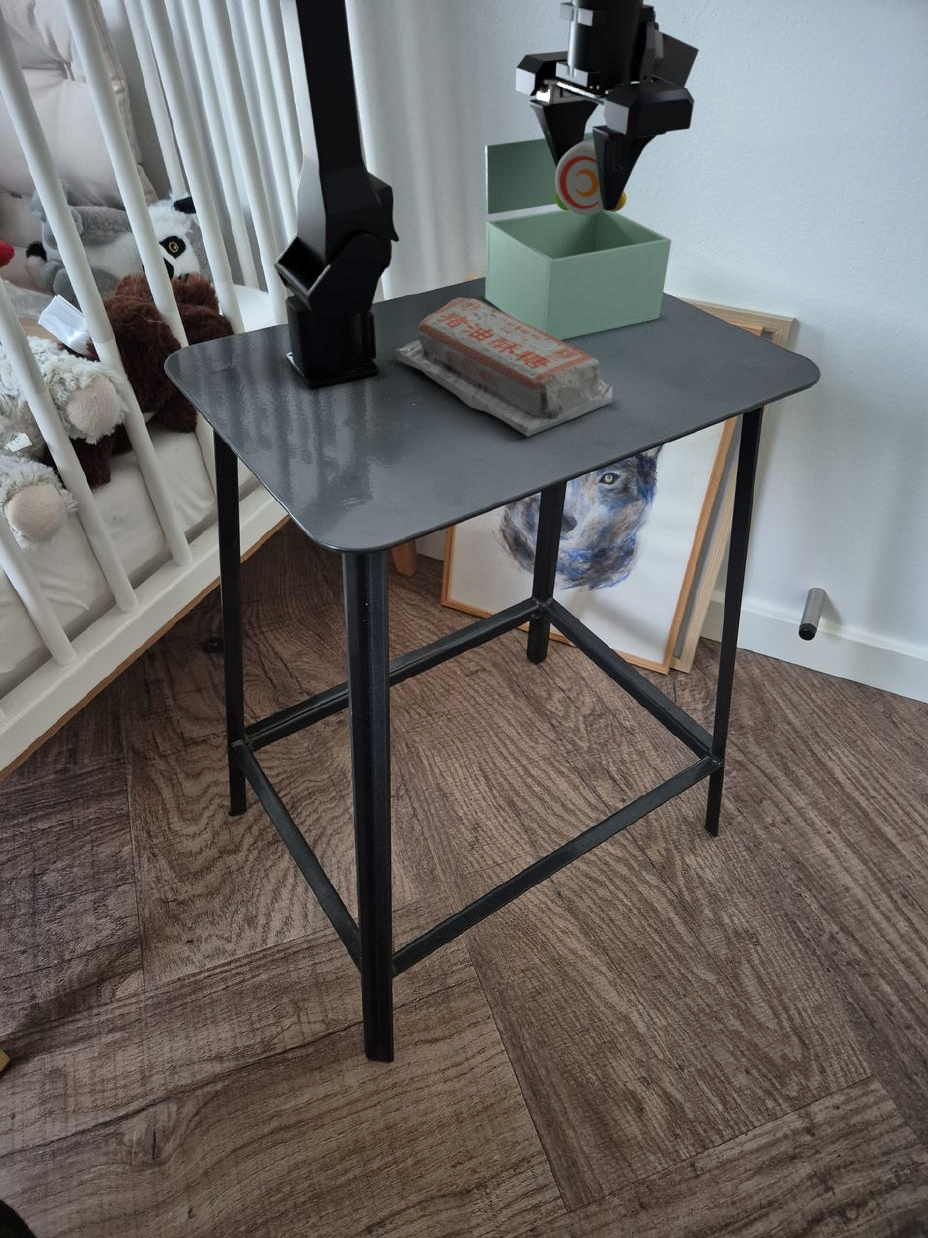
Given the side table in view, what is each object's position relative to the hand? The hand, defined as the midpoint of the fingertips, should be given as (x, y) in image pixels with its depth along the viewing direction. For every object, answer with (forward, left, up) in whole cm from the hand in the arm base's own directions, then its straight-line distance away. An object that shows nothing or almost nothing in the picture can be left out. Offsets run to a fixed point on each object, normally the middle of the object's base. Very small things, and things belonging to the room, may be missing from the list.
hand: (588, 199), depth 80 cm
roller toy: (0, 0, -1) cm, 1 cm away
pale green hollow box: (0, +2, -11) cm, 11 cm away
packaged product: (-14, -9, -11) cm, 20 cm away
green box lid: (0, +8, 0) cm, 8 cm away
